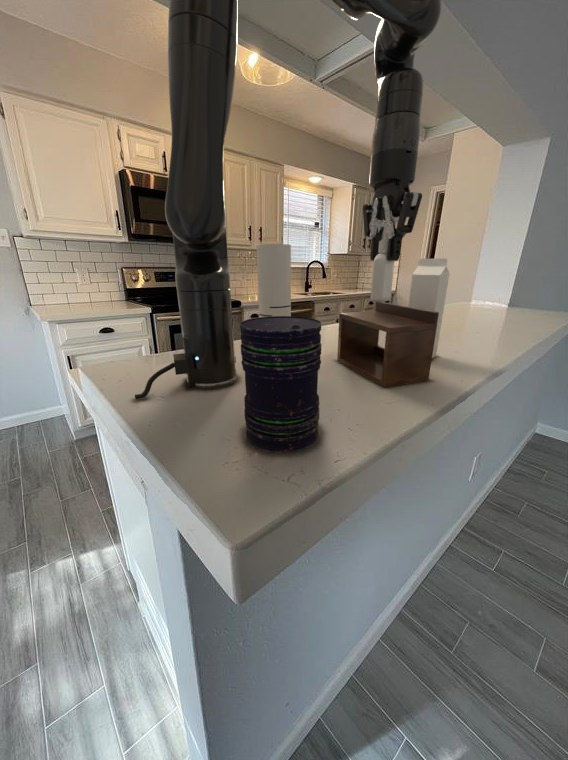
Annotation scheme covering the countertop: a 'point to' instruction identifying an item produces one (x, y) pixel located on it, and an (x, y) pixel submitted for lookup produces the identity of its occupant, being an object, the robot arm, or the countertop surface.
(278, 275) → the cylindrical container
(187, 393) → the countertop surface
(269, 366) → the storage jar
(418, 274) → the milk
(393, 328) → the spice rack
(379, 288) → the eye dropper bottle
